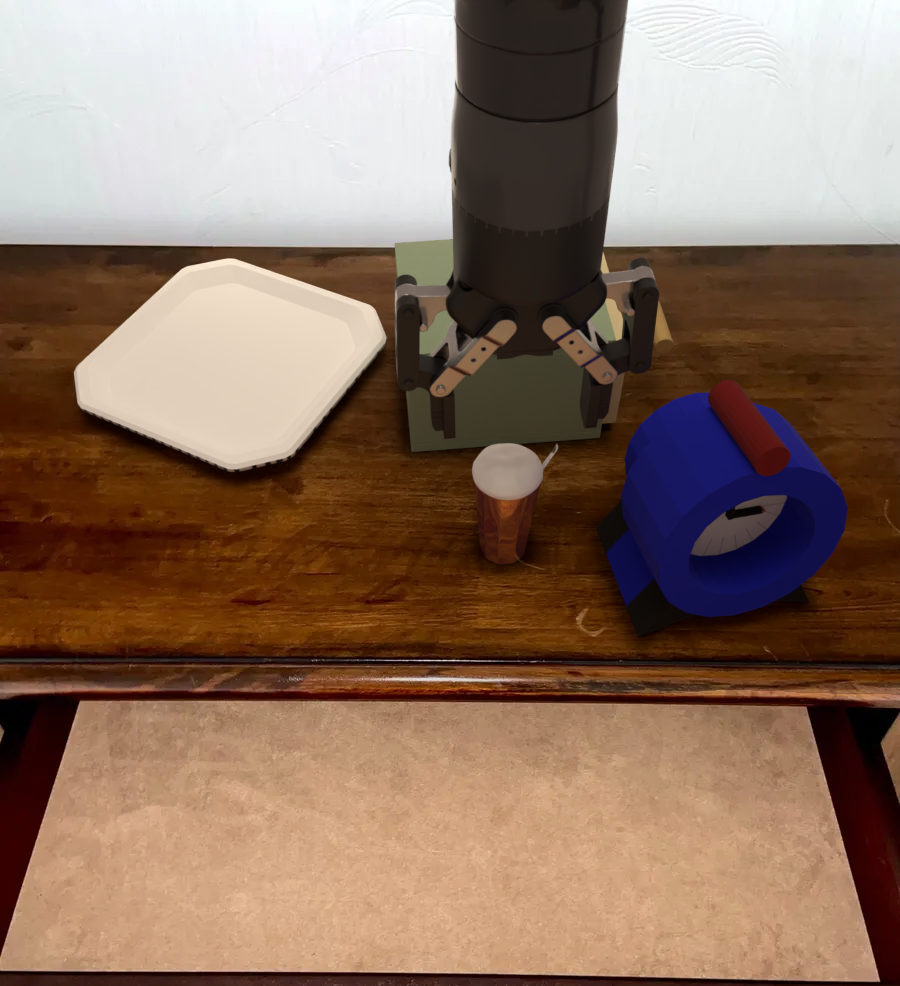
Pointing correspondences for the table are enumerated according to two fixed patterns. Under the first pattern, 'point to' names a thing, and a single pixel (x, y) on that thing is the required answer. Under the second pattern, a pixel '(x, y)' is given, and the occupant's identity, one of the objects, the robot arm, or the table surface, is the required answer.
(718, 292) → the table surface
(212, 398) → the plate
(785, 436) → the alarm clock
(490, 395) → the cabinet
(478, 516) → the milkshake
